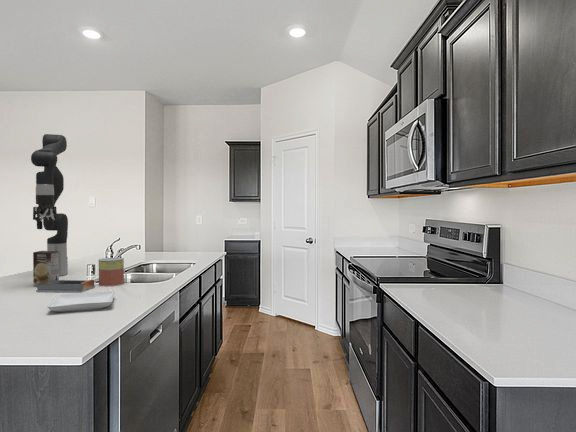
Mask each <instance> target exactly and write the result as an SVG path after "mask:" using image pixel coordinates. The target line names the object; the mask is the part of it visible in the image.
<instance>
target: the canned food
mask: <svg viewBox="0 0 576 432" xmlns="http://www.w3.org/2000/svg"><path fill="white" fill-rule="evenodd" d="M124 260H125V259H124V257H105V258H99V259H98V286H101V287H115V286H116V287H118V286H120V285H121V286H122V285H125V280H124V279H125V276H124V275H125V274H124V272H125V271H124V270H125V264H124V263H125V262H124Z"/></svg>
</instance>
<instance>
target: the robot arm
mask: <svg viewBox="0 0 576 432" xmlns="http://www.w3.org/2000/svg"><path fill="white" fill-rule="evenodd" d="M67 143H68V142H67V138H66V136H65V135H63V134H53V133H50V134H49V133H48V134H47V133H45V134H44V135H42V148H40V149H37V150H35V151H33V152H32V154H31V156H30V160H31V164H32V165H33V166H35V167H39V168H40V167H41V168H42V167H43V171H38V172H36V173H35V184H36V185H35V204H36V205H38V206H33V207H32V220H33V221H36V229H37V230H43V229H44V230H45V231H50V232H51V231H53V232H54V231H56V234H55V235H53V236H51V237H48V238H47V239H46V246H47V247H46V248H47V249H46V251H59V277H63V276H67V275H68V273H69V272H68V271H69V266H68V265H69V264H68V246H67V245H68V244H67V243H68V241H67V240H68V233H69V232H68V229H69V219H68V216H67V214H66V213H61V212H60V213H58V212H57V206H56V203H57V201H58V200H59V198H60V196H61V195H62V193H63V192H64V187H65V186H64V185H65V184H64V180H65V179H64V175H63V174H62V172H61V171H60V169H59V168H58V167H57V164H58V156H59V155H60V154H62V153H64V152H66V150H67V148H68V147H67V146H68V145H67ZM62 275H63V276H62Z"/></svg>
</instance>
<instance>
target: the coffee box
mask: <svg viewBox="0 0 576 432" xmlns="http://www.w3.org/2000/svg"><path fill="white" fill-rule="evenodd" d="M32 254H33V255H32V260H33V261H32V262H33V263H32V265H33V266H32V268H33V270H32V271H33V272H32V274H33V275H32V277H33V280H32V281H33V285H32V286H33V287H37V284H50V280H60V276H59V251H47V250H39V251H34V252H32Z"/></svg>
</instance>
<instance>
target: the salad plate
mask: <svg viewBox="0 0 576 432" xmlns="http://www.w3.org/2000/svg"><path fill="white" fill-rule="evenodd" d="M114 295H115V291H113V290H112V291H109V290H108V291H94V292H93V291H91V292H90V291H89V292H81V293H66V294H58V295H56V296H55V297H54V298H53V299H52V301H51V302H50V303H49V304H48V305H47V309H48V310H50V311H53V312H60V313H64V312H66V313H67V312H79V311H80V312H81V311H89V310H90V311H91V310H101V309H102V310H103V309H105V308H107V307H109V306H111V305H112V303H113V299H114Z"/></svg>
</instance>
